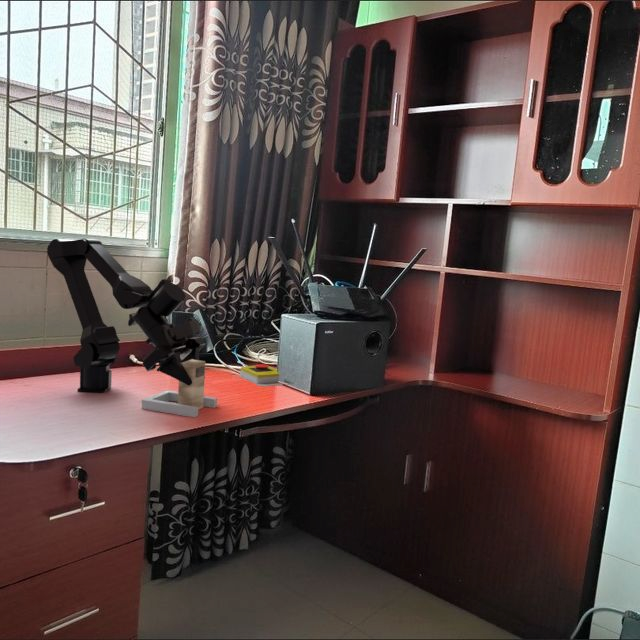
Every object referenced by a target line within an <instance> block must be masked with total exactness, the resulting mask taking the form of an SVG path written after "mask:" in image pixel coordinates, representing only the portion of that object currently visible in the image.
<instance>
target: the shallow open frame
mask: <svg viewBox="0 0 640 640" xmlns="http://www.w3.org/2000/svg"><path fill="white" fill-rule="evenodd" d="M203 407H207V408H214V409H215V408H216V407H218V397H214V396H205V395H204V404H203ZM141 409H144V410H149V411H154V412H155V411H156V412H161V413H166V414H172V415H179V416H184V417H190V418H196V417H198V416H199V410H198V407H195V406H189V405H183V404H178V391H175V390H164V391H162V392H158V393H156V394H153V395H151V396H148V397H146V398H143V399H142V400H141Z"/></svg>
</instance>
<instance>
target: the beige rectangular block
mask: <svg viewBox="0 0 640 640" xmlns="http://www.w3.org/2000/svg"><path fill="white" fill-rule="evenodd" d="M181 364H182V366H183V367H184V369H185V370H186V372H187V374H188V375H189V377H190V379H191V380H192V384H191V385H187V384H185V383H183V382H181V381H179V380H178V391H177V392H178V402H177V404H183V405H189V406H195V407H198V411H199V410H200V409H203V408H204V406H203V404H204V396H205V381H206V380H205V379H206V361H205V360H200V359H199V360H194V359H191V360H188V361H185V362H182V363H181Z"/></svg>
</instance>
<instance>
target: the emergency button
mask: <svg viewBox="0 0 640 640" xmlns="http://www.w3.org/2000/svg"><path fill="white" fill-rule="evenodd" d="M277 370H278V369H276V368H275V367H272V366H269V365H268V364H265V363H260V364H259V363H258V364H255V365H251V366H241V367H240V373H239V374H240V375H238V374H237V376H238V377H240V378H241V379H244V380H246V381H249V382H250V383H253V384H255V385H256V386H259V387H275V386H284V385H283V384H281V383H278V381H279V373H278V372H277Z"/></svg>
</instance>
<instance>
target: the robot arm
mask: <svg viewBox="0 0 640 640" xmlns="http://www.w3.org/2000/svg"><path fill="white" fill-rule="evenodd" d="M103 245H104V244H103V242H102V241H100V240H99V239H97V238H80V239H65V238H64V239H61V238H60V239H59V238H54V239H53V240H52V239H51V241H50V243H48V245H47V248H46V253H47V257H48V259H49V260H50V262H51V264H52V266H53V268H54V269H56V271H58V272H59V273H60V274H61V275H63V276H62V277H64V281H65V283H66V285H67V288H68V291H69V295H70V298H71V300H72V303H73V306H74V308H75V310H76V314H77V316H78V320H79V322H80V325H81V328H82V331H81V336H80V340H79V342H80V346H81V348H80V349H79V350H78V351H77V352H76V354H74V356H73V359H72V360H73V362H74V366H75V367H79V369H80V370H79V387H78V388H77V392H87V393H88V392H90V393H105V392H107V391H108V390H109V389H110V388H111V387H112V376H113V375H112V370H111V369H110V365H114V364H115V363H116V361H117V358H118V355H119V351H120V349H121V346H120V343H119V342H121V340H120V338H119V337H118V334H117V331H116V328H115V326H114V325H113V326H111V325H109V326H107V324H105V323H104V321H103V318H102V315H101V313H100V310H99V307H98V304H97V301H96V298H95V296H94V293H93V291H92V288H91V286H90V283H89V280H88V278H87V274H86V271H85V268H86V264H87V261H88V262H89V263H90V264H91V265H92V266H93V267H94V269H95V270H96V271H97V272H98V273H99V274H100V275H101V276H102V277H103V278H104V279H105V281H106V282H107V283H108V284H109V285H110V287H111V288H112V295H113V297H114V299H115V301H116V302H117V303H118V305H119V306H120V307H121V308H122V309H124V310H130V309H138V310H137V311H136V312H133V313H130V314H129V315H128V316H129V318H128V322H127V325H128V326H129V327H132V326H135V325H138V327H139V328H140V329H141V331H142V332H143V334H145V336H146V337H147V339H146V340H145V342H146V343H147V345H151V344H152V345H153V346H154V348H153V349H151V351H150V352H149V353H148V354H147V355H145V356H144V357H143V358H142V366H143V368H144V369H145V370H146V371H147V372H150V371H154V370H156V372H160V373H163V374H164V375H167V376H168V377H171V378H173V379H175V380H177V381H178V382H179V381H181V382H183V383H185V384H187V385H191V384H192V380H191V379H190V377H189V375H188V374H187V372H186V370H185V369H184V367H183V366H182V364H181V363H182V362H185V361H188V360H191V359H194V360H200V357H199V355H200V351H201V350H202V348H204V346H205V345H206V341H205V340H204V339H203V338H202V337H201V336H193V335H198V334H201V332H202V331H201V328H202V323H201V322H200V321H199V319H197V318H196V317H194V316H193V317H190V318H188V319H185V322H182V323H180V324H176V323H173V322H172V323H169V322H168V321H167V319H166V318H165V317H170V316H171V315H172V314H173V313H174V312H175V311H176V309H178V308H179V306H180V305H181V304H182V303H183V302H184V301H185V300H186V293H185V291H184V290H183V289H182V288H181V287H180V286H178V285H177V284H175V283H173V282H171V280H170V279H169V278H163V279H161V280H160V281H159V283H158V285H157V286H156V287H155V288H154V289H152V288H151V287H150V286H149V284H147V283H146V282H144V281H143V280H141V279H140V278H139V277H138V278H137V277H135V276H133V275H131V274H130V273H129V272H128V271H126V269H125V268H124V267H123V266H122V264H120V263H119V262H118V260H117V259H116V258H115V257H114V256H113V255H112V254H111V253H110V252H109V251H108V250H107V249H106V247H104V246H103ZM190 336H193V337H190ZM188 337H190V338H188ZM157 364H158V365H159V366H158V367H157ZM156 368H157V369H156Z"/></svg>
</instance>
